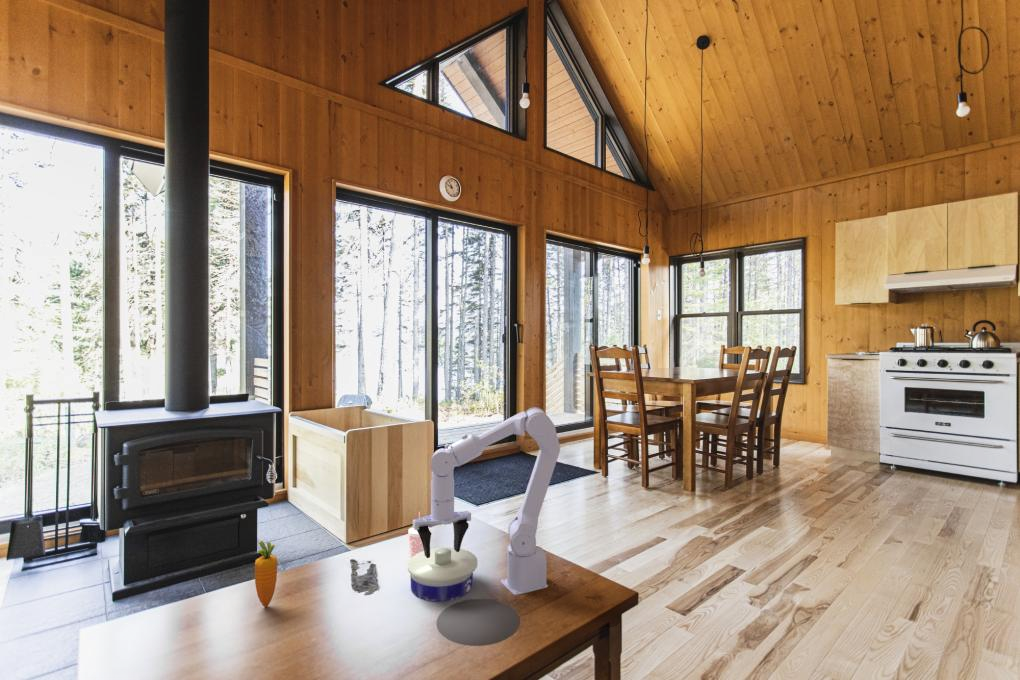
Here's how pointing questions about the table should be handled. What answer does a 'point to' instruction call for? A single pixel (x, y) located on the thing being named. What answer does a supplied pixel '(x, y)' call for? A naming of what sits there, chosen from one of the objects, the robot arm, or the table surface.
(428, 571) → the lid
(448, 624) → the mat
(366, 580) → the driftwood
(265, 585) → the carrot
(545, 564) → the robot arm
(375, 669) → the table surface
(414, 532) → the beverage cup
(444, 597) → the dog bowl
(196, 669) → the table surface
